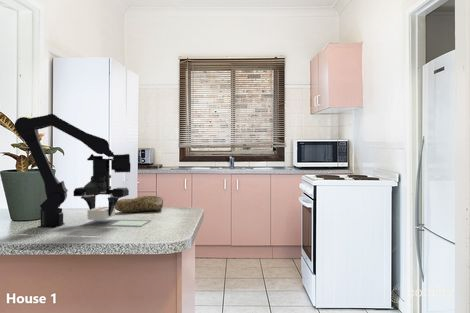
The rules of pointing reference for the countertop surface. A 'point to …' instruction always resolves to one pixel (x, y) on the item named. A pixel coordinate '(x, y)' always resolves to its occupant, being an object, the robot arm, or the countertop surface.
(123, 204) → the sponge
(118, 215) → the countertop surface
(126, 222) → the mat
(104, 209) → the card box
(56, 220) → the robot arm
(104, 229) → the countertop surface
